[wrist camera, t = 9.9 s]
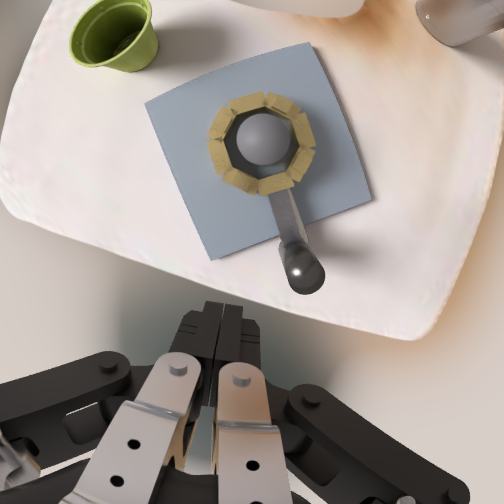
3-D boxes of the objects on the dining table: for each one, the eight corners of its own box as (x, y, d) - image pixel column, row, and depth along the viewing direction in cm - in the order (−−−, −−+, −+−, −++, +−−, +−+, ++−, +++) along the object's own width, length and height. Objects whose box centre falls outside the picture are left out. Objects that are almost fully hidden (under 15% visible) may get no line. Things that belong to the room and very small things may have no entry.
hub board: (307, 45, 26) (323, 15, 18) (372, 213, 32) (404, 229, 24) (147, 105, 28) (118, 90, 20) (219, 272, 34) (210, 304, 26)
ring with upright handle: (201, 117, 27) (183, 100, 19) (290, 90, 26) (304, 64, 18) (254, 274, 33) (256, 310, 25) (337, 248, 32) (363, 276, 24)
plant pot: (188, 45, 26) (169, 13, 18) (130, 99, 28) (95, 83, 19) (144, 11, 24) (120, -20, 15) (92, 61, 26) (56, 42, 17)
